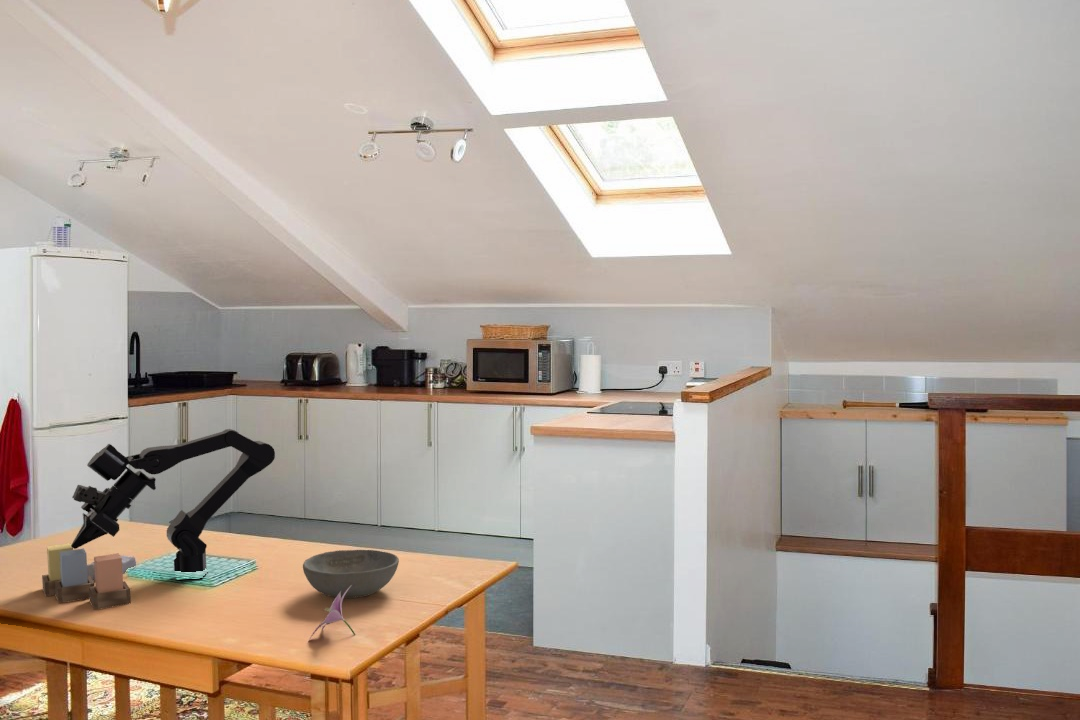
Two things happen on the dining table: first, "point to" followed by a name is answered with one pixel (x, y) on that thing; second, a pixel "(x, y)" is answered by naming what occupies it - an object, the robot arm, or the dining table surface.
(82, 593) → the walnut sockets
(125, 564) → the stone block
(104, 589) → the tan block
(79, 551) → the blue-grey block
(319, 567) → the bowl
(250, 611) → the dining table surface
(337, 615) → the lily
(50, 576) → the ochre block
